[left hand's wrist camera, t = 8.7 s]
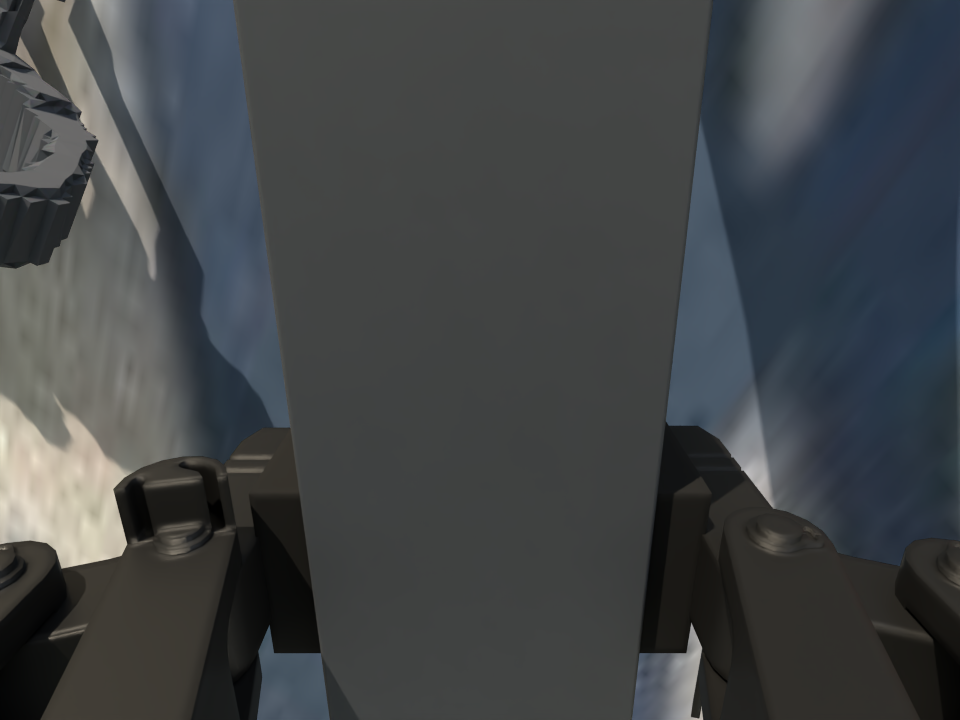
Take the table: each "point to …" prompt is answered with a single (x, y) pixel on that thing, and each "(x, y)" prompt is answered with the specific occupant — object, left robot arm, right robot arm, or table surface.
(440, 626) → the post
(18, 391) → the table surface
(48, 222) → the toy
